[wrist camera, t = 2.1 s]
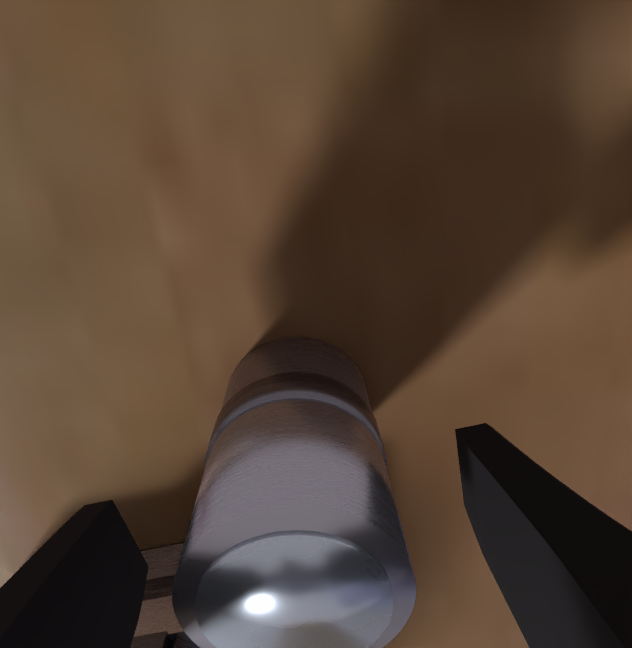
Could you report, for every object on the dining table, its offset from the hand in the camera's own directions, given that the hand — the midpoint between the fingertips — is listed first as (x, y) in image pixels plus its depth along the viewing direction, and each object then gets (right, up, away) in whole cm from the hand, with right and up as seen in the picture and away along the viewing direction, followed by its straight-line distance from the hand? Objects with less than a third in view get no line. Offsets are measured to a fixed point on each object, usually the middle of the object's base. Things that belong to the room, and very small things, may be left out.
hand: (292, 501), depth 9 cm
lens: (0, +1, +4) cm, 4 cm away
